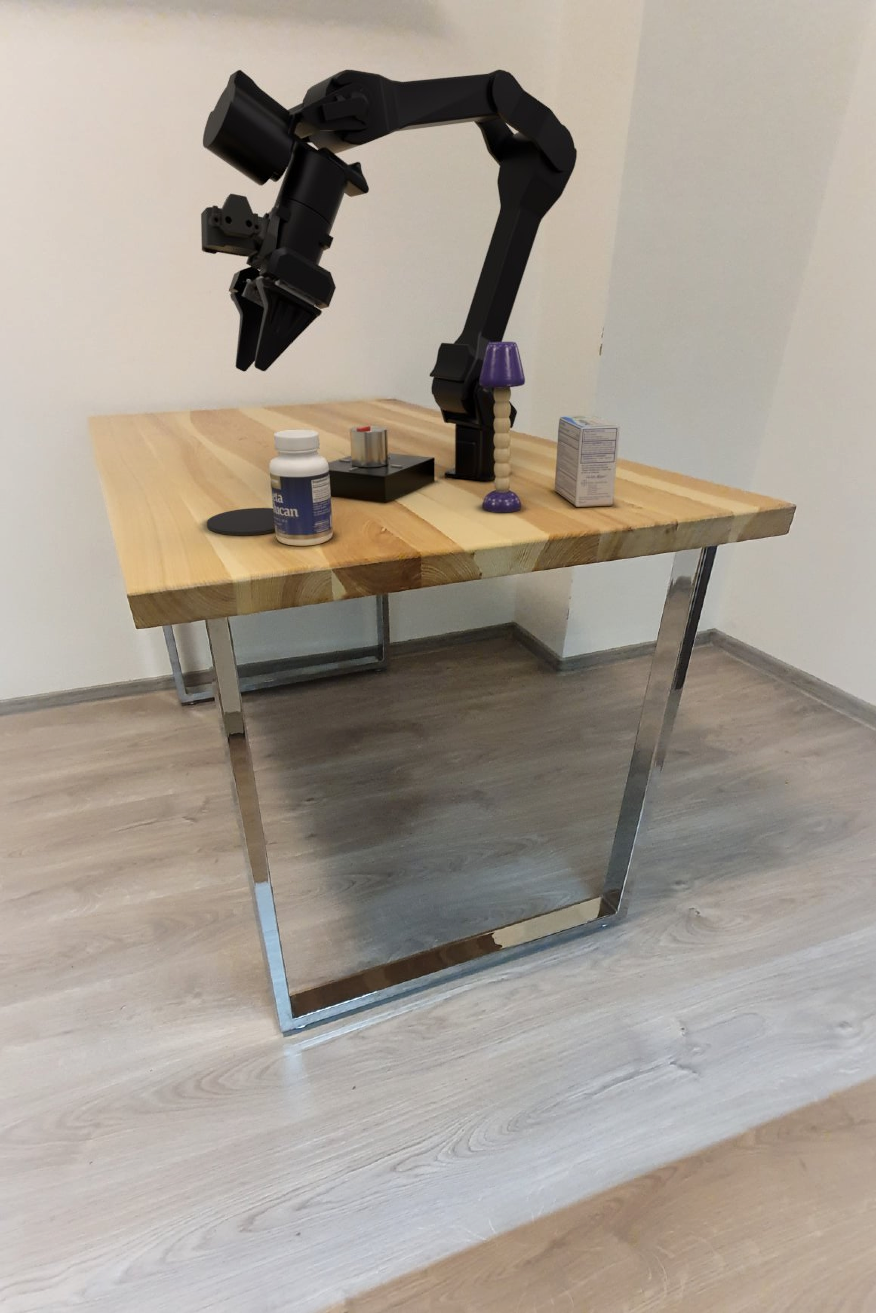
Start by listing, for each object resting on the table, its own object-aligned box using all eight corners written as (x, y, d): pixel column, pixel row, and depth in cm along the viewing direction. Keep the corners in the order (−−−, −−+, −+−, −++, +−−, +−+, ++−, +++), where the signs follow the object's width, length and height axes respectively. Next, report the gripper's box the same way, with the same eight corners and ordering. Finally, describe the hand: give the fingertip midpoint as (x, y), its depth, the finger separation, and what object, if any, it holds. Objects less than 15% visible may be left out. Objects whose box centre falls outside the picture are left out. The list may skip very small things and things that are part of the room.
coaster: (247, 507, 80) (247, 504, 79) (315, 517, 76) (314, 514, 76) (187, 528, 72) (187, 524, 72) (258, 540, 69) (258, 536, 69)
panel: (367, 474, 95) (365, 449, 94) (434, 481, 91) (434, 456, 89) (312, 493, 85) (310, 466, 84) (385, 503, 81) (384, 474, 80)
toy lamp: (488, 515, 77) (493, 343, 69) (469, 505, 81) (472, 341, 73) (528, 510, 78) (537, 342, 71) (507, 500, 82) (514, 340, 75)
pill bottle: (264, 542, 68) (252, 435, 64) (299, 527, 73) (290, 426, 68) (310, 550, 66) (301, 440, 62) (344, 535, 70) (338, 430, 66)
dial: (364, 458, 89) (362, 422, 87) (395, 462, 87) (394, 424, 85) (344, 465, 85) (342, 427, 83) (376, 468, 83) (374, 430, 81)
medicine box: (613, 506, 80) (622, 424, 76) (574, 508, 79) (581, 426, 75) (589, 490, 87) (596, 414, 83) (553, 491, 86) (558, 415, 82)
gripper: (208, 187, 75) (158, 335, 77) (245, 138, 59) (182, 325, 62) (306, 246, 81) (257, 382, 83) (363, 216, 65) (301, 384, 67)
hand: (249, 369), depth 74 cm, fingers open, 9 cm apart
